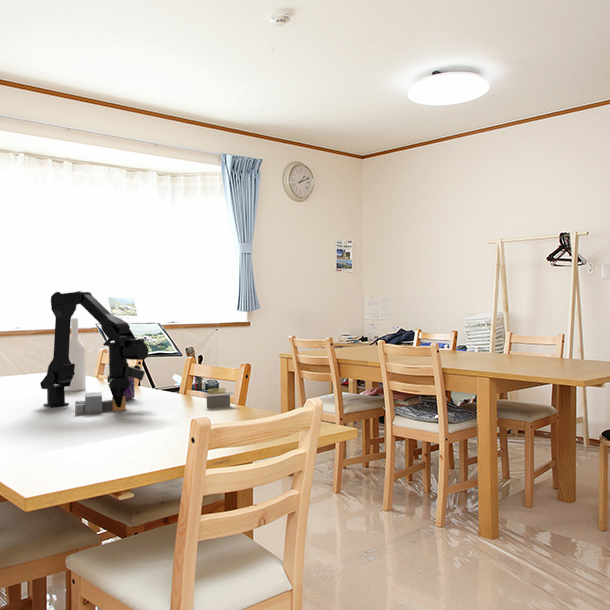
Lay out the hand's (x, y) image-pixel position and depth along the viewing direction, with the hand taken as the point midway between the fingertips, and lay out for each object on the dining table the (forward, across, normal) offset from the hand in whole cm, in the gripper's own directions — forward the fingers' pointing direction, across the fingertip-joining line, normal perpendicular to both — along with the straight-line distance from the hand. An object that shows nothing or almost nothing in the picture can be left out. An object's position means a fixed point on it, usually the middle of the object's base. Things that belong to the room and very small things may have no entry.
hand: (118, 406), depth 193 cm
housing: (+1, 0, +9) cm, 9 cm away
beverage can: (+1, +22, -3) cm, 22 cm away
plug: (+1, 0, +5) cm, 5 cm away
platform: (+2, -10, -31) cm, 33 cm away
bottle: (+1, +59, +14) cm, 61 cm away
